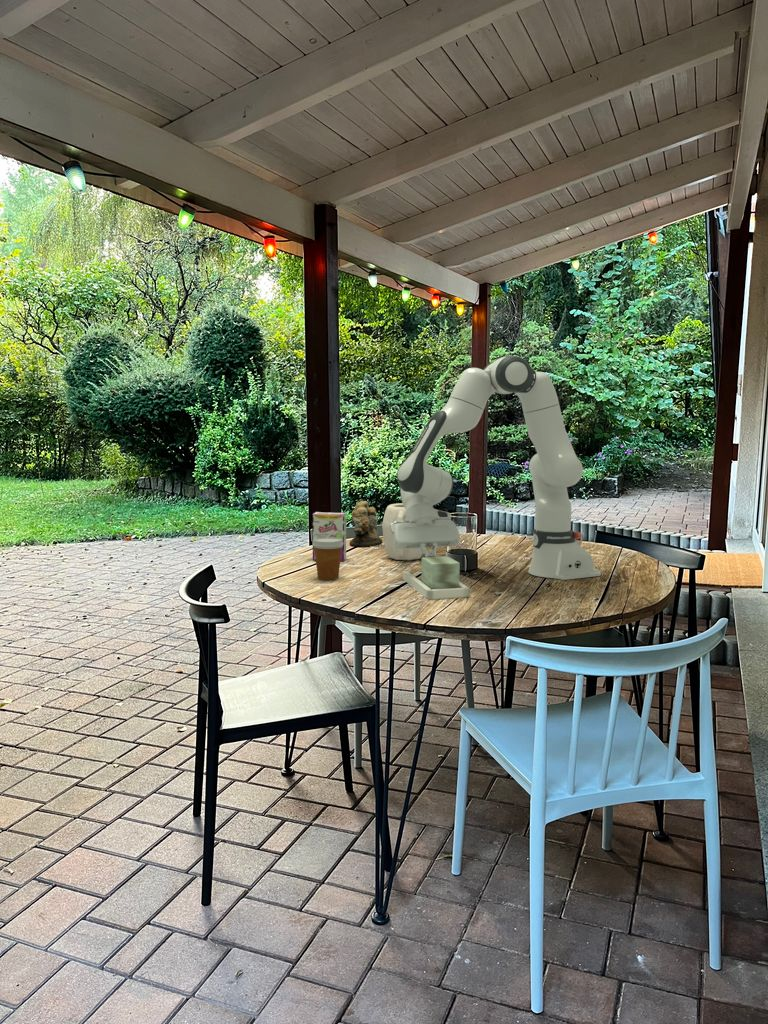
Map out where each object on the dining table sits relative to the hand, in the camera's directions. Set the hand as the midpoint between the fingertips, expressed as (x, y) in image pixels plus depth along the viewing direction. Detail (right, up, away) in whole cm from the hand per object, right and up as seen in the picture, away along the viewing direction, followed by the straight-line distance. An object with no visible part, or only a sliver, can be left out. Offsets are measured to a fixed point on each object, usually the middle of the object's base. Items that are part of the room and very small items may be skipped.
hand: (431, 557), depth 212 cm
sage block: (+2, -9, -8) cm, 12 cm away
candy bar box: (-33, -3, +36) cm, 49 cm away
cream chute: (+1, -8, -2) cm, 9 cm away
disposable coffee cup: (-31, -7, +9) cm, 33 cm away
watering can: (-6, -3, +42) cm, 42 cm away
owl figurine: (-21, +1, +68) cm, 71 cm away
